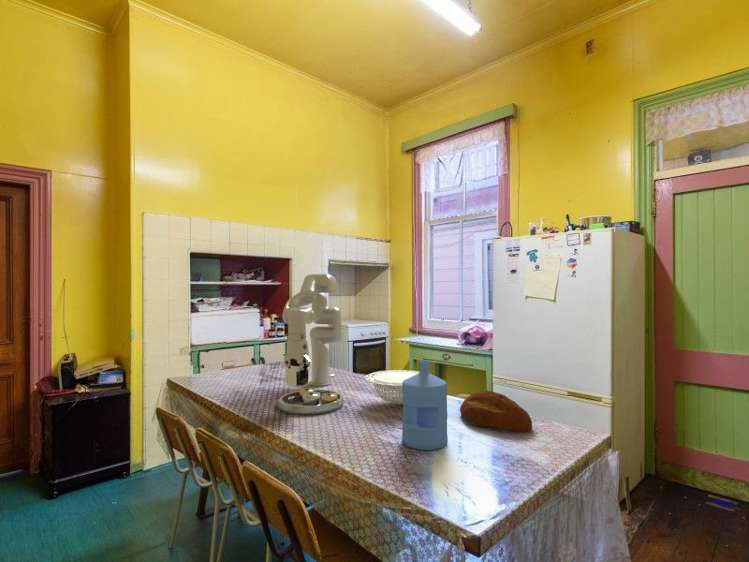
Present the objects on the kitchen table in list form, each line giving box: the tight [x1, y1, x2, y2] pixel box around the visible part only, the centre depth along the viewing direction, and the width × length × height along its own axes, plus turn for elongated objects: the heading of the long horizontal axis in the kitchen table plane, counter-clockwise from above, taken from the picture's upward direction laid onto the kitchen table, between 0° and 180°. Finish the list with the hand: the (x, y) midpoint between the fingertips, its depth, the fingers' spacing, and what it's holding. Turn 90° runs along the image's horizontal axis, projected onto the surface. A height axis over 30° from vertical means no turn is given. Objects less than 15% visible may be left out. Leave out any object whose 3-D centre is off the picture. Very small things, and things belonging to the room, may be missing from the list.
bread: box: [459, 390, 533, 433], centre depth 164 cm, size 21×33×12 cm, turn 33°
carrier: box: [278, 387, 344, 416], centre depth 189 cm, size 29×29×6 cm
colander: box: [363, 369, 420, 406], centre depth 189 cm, size 32×32×13 cm
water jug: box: [401, 360, 449, 451], centre depth 144 cm, size 16×16×28 cm
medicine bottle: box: [285, 359, 309, 388], centre depth 183 cm, size 7×7×12 cm
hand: (297, 377), depth 183 cm, fingers closed on medicine bottle, 7 cm apart
